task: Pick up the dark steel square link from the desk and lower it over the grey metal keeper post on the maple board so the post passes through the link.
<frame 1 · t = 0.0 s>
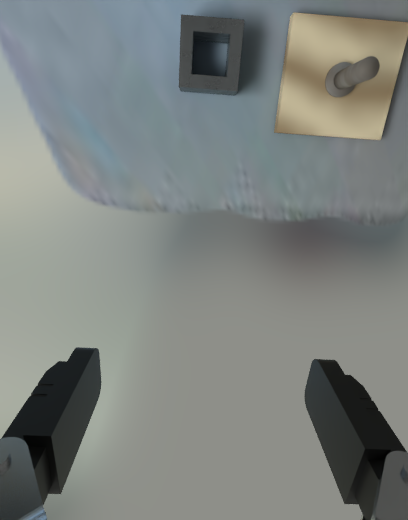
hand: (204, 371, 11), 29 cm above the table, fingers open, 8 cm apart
link: (209, 61, 33), on the table
keeper: (335, 82, 33), on the table
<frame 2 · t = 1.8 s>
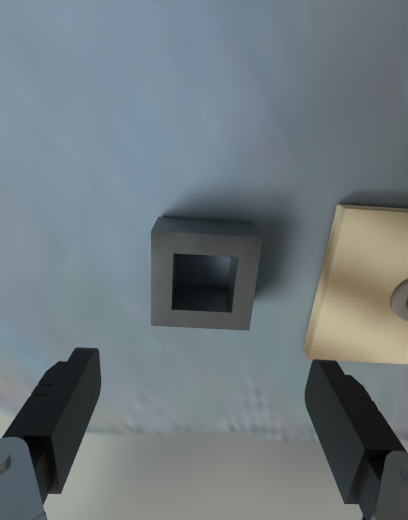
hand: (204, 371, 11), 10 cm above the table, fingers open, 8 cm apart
link: (203, 263, 20), on the table
keeper: (403, 288, 21), on the table
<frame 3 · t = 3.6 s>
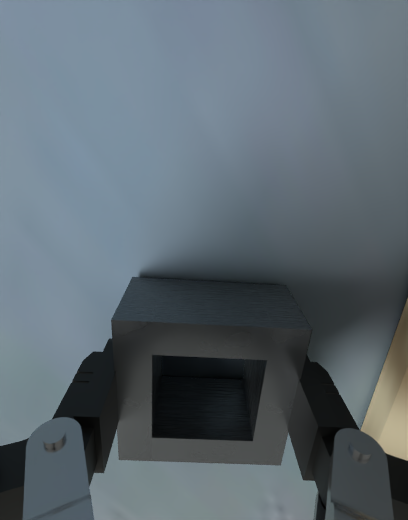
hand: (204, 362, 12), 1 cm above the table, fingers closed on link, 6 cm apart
link: (204, 344, 13), on the table, touching gripper
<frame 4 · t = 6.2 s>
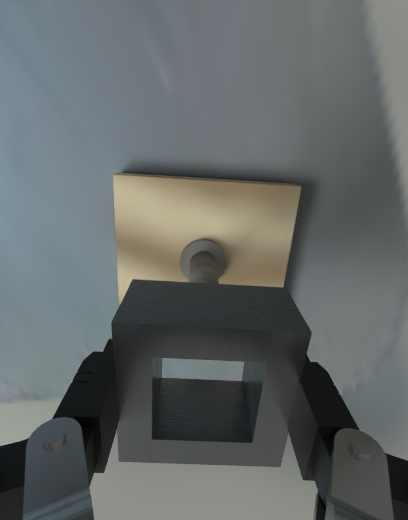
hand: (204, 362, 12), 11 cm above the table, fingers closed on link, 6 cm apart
link: (204, 346, 13), point 10 cm above the table, touching gripper
keeper: (202, 254, 22), on the table
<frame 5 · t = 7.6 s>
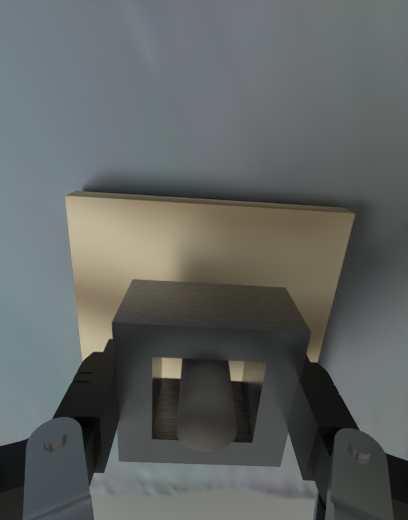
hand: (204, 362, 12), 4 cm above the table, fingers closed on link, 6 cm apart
link: (204, 346, 13), point 3 cm above the table, touching gripper
keeper: (203, 305, 16), on the table
when the fingers open (3 cm above the table, at t = 8.8 s): link stays where it is, resting on keeper.
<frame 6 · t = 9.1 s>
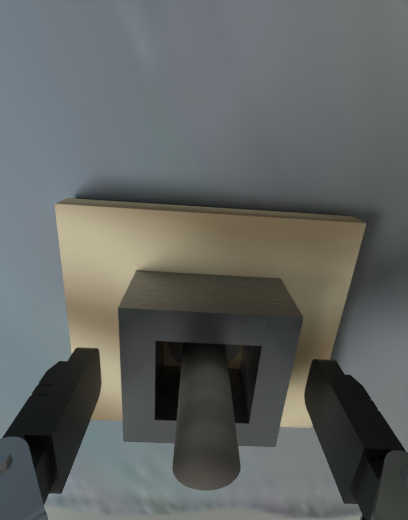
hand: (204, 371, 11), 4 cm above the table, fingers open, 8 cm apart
link: (204, 335, 14), point 1 cm above the table, touching keeper
keeper: (203, 319, 15), on the table
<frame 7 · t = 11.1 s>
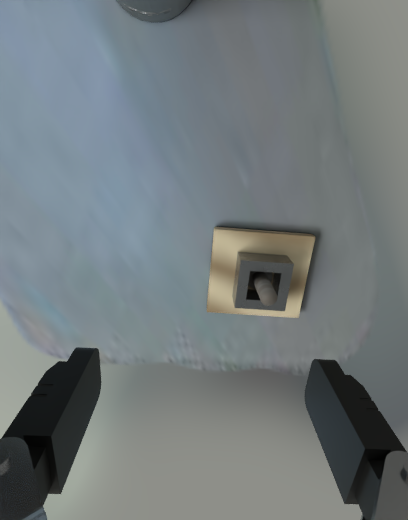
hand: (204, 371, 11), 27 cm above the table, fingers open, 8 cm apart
link: (258, 276, 38), point 1 cm above the table, touching keeper
keeper: (257, 272, 39), on the table
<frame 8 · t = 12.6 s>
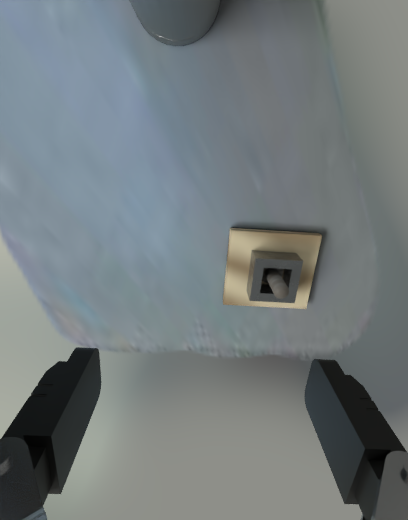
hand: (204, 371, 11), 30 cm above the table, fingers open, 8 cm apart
link: (270, 272, 42), point 1 cm above the table, touching keeper
keeper: (268, 268, 43), on the table
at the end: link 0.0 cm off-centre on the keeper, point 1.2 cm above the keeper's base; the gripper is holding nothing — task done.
